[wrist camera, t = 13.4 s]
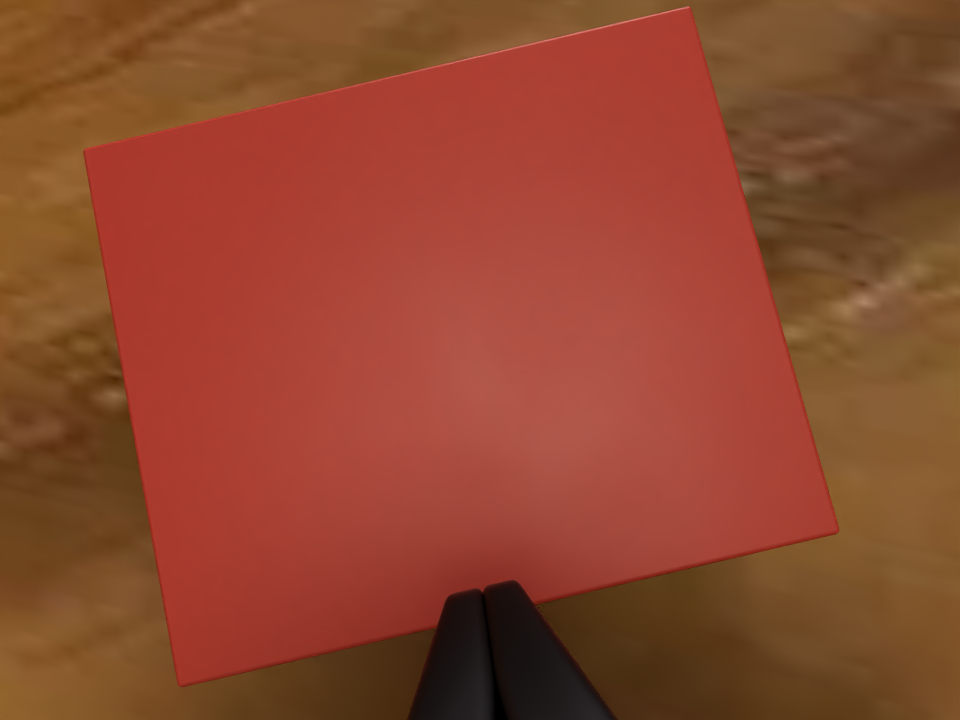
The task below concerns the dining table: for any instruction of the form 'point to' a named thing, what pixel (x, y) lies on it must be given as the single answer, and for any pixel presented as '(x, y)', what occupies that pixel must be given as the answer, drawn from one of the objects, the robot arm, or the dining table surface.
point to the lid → (448, 346)
